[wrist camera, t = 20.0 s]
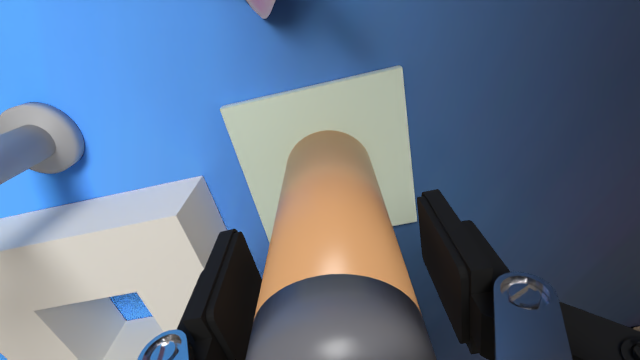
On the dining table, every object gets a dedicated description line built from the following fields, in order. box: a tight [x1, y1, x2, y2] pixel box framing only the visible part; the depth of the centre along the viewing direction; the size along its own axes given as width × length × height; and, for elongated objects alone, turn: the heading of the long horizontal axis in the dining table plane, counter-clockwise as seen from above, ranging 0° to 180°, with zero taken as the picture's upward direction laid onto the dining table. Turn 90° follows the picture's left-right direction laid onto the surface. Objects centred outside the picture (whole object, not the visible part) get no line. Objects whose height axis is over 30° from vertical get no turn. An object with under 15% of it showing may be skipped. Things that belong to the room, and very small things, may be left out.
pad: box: [220, 65, 417, 242], centre depth 18 cm, size 9×9×1 cm
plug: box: [245, 130, 437, 360], centre depth 12 cm, size 5×5×12 cm
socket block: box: [0, 102, 227, 360], centre depth 15 cm, size 14×20×13 cm
